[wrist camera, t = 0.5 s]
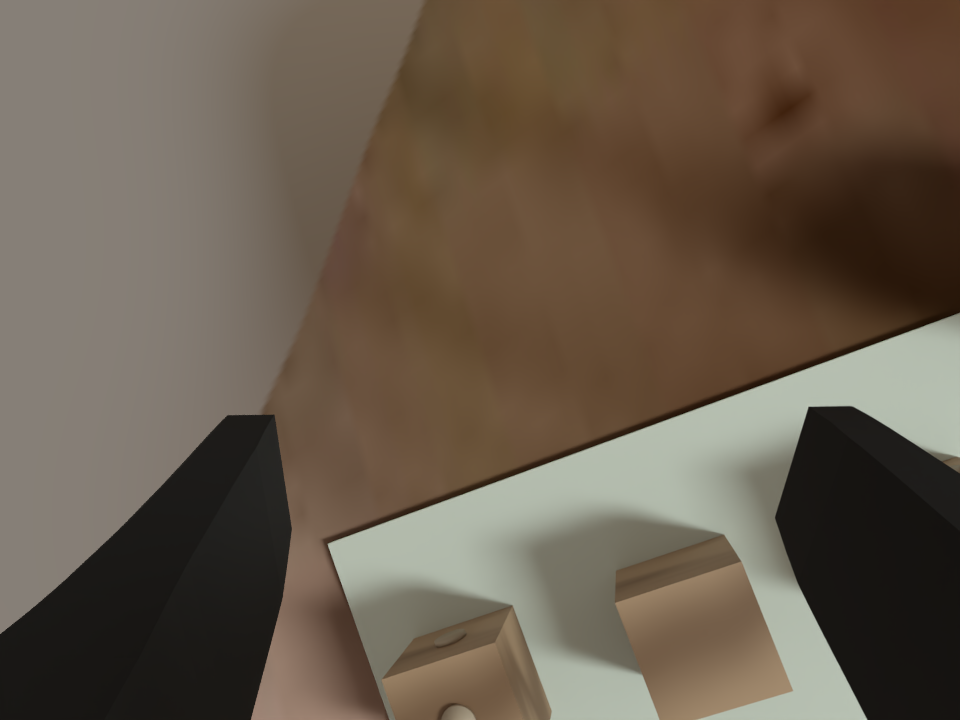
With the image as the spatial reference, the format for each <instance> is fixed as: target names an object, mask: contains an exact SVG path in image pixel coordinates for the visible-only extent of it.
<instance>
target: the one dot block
mask: <svg viewBox="0 0 960 720" xmlns="http://www.w3.org/2000/svg"><path fill="white" fill-rule="evenodd" d="M381 680H382V683H383V686H384V689H385V692H386V695H387V697H388V700H389V703H390V706H391V709H392V712H393V714H394V717H395V720H550V718H551V713H552V710H551V708H550V705H549V702H548V699H547V697H546V694H545V691H544V689H543V686H542V683H541V681H540V678H539V675H538V672H537V670H536V667H535V664H534V662H533V659H532V656H531V654H530V651H529V648H528V646H527V643H526V640H525V637H524V635H523V632H522V629H521V627H520V624H519V621H518V619H517V616H516V613H515V610H514V608H513V605H512V606H509V607H506V608H503V609H500V610H497V611H494V612H491V613H488V614H485V615H483V616H480V617H477V618H474V619H471V620H468V621H465V622H462V623H459V624H456V625H453V626H450V627H447V628H444V629H441V630H438V631H435V632H432V633H429V634H426V635H423V636H420V637H417V638H414V639H413V640H412V642H411V643H410V644H409V645H408V647H407V648H406V649H405V650H404V652H403V653H402V654H401V655H400V657H399V658H398V659H397V661H396V662H395V663H394V664H393V666H392V667H391V668H390V669H389V671H388V672H387V673H386V674H385V676H384V677H383V678H382V679H381Z"/></svg>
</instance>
